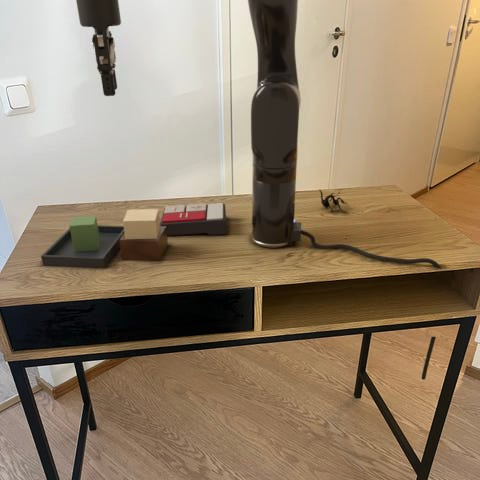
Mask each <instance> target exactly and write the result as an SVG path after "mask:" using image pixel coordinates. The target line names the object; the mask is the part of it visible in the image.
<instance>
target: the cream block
mask: <svg viewBox="0 0 480 480" xmlns="http://www.w3.org/2000/svg"><path fill="white" fill-rule="evenodd" d="M160 222H161V218H160V210H159V208H149V209H145V208H144V209H142V208H141V209H127V211H126V213H125V216H124V218H123V220H122V224H123V225H122V226H124V232H125V239H157V237H158V233H159V230H160Z"/></svg>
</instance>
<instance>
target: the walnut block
mask: <svg viewBox="0 0 480 480" xmlns="http://www.w3.org/2000/svg"><path fill="white" fill-rule="evenodd" d="M119 241H120V248H119V249H120V254H121V259H122V260H124V261H147V262H160V261H161V259H162V257H163V255H164V253H165V251H166V249H167V248H168V246H169V241H168V236H167V229H166V226H160V230H159V233H158V237H157V239H125V233H124V235H123V236H122V237H121V238H120V240H119Z"/></svg>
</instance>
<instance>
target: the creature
mask: <svg viewBox="0 0 480 480" xmlns="http://www.w3.org/2000/svg"><path fill="white" fill-rule="evenodd" d="M318 191H319V192H320V200H321V202H320V203H321V205H322V207H324V208H325V209H326V210H327V209H328V208H330V211H331V213H334V212H335V210H333V207H335V206H337V207H338V209H337V211H339V212H343V213H346V211H345V210H344V209H343V208H341V206H340V202H341V204H343V205H347V206H349V204H348V203H347V202H346V201H345V200H344V199H342V198H341V197H339V196H338V194H340V193H341V191H342V190H340V191H338V194H336V195H334V194H335V193H334V192H333V193H331V194H329V195H326V196H325V198H323V197H324V196H323V195H324V193H323V192H322V190H321V189H318ZM336 197H337V198H336ZM330 203H332V204H334V205H333V206H331V204H330Z"/></svg>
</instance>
